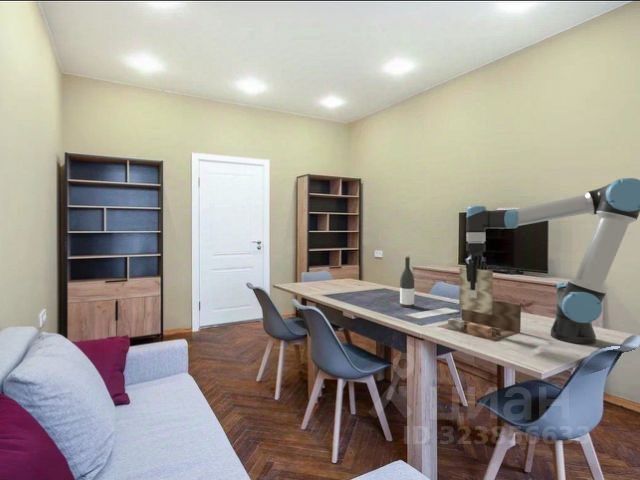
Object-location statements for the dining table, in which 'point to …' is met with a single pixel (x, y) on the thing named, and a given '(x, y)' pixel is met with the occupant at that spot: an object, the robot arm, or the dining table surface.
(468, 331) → the cherry offcut
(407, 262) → the wine bottle
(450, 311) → the baseboard molding
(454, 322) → the grey mdf offcut
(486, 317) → the walnut rack
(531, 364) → the dining table surface
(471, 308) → the birch sheet
